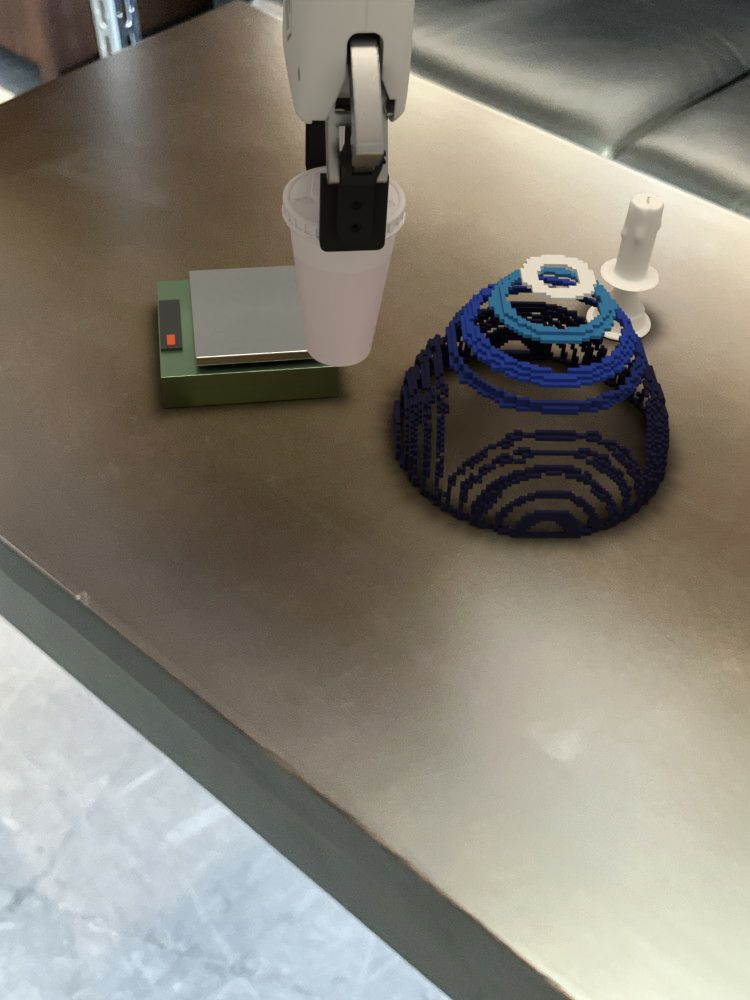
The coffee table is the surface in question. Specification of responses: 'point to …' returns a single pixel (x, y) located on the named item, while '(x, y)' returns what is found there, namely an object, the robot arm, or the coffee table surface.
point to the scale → (226, 365)
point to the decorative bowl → (540, 348)
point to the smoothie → (337, 274)
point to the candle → (633, 264)
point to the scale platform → (247, 315)
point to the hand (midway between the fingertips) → (343, 205)
